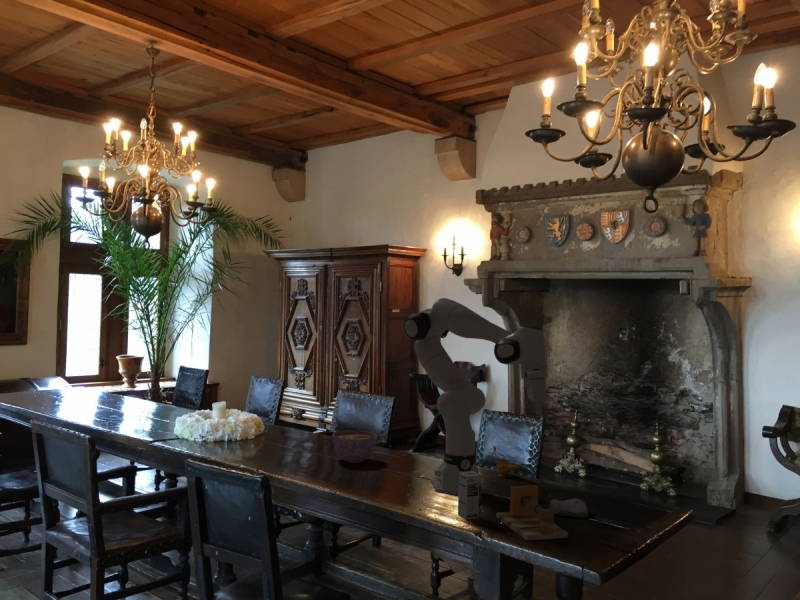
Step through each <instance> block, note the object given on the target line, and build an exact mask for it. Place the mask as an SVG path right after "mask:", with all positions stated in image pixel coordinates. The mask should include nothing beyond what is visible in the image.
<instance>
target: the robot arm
mask: <svg viewBox="0 0 800 600" xmlns="http://www.w3.org/2000/svg"><path fill="white" fill-rule="evenodd" d="M403 330H404V332H405V335H406V336H407V337H408V338H409V340H413V341H415V342H414V345H413V349H414V352H415V354H416V357H417V359H418V361H419V363H420V365H421V367H422V368H423V370H424V371H425V373H426V375H427V377H428V378H429V379H430V381H431V382H432V384H433V385H434V386H435V387H436V388H439V389H440V390H441V391H442V392H443V393H441V394H440V395H439V396H438V398H437V401H436V408H437V410H438V412H439V414H440V415H441V417H442V419H443V422H444V427H445V451H444V454H443V461H442V463H441V464H440V465H439V466H438V467H437V469H436V470H434V473H433V474H434V477H433V478H431V479H430V483H431V484H432V486H433V487H432V488H433V490H434V491H435V492H439V493H445V494H449V495H458V485H459V472H472V471H474V472H477V473H479V474H480V472H479V471H480V470H479V467H478V466H477V465H476V464H477V463H476V462H477V457H476V432H475V430H474V429H473V428H472V424H471V417H470V416H471V415H475V414H477V413H478V412H480V411H481V410H482V409H483V408H484V406H485V404H486V395H485V393H484V391H482V389H481V388H479V387H477V386H476V385H474V384H473V383H472V382H471V381H470V380H469V379H468V378H467V377H466V376H465V375H464V374H463V373H462V372H461V370H460V369H458V367H457V365H456V364H455V363H454V361H453V360H452V358H451V356H450V355H449V354H448V352H447V351H446V349H445V348H444V346H443V345H442V341H441V340H442V339H445V338H446V337H447V336H448V334H449V332H450V333H452V334H453V335H455V336H458V337H461V338H464V339H475V340H484V341H489V342H491V343H493V344H494V347H493V352H494V353H493V354H494V357H495V359H496V360H497V361H498V362H499V363H500V364H501V365H502V364H503V365H510V366H511V365H519V367H520V377H521V379H524V380H525V381H524V382H525V384H526V386H527V387H526V389H527V397H528V400H530V401H531V402H530V403H531V406H532V407H531V408H532V413H533V414H535V415H536V416H542V415H543V402H545V401H546V396H547V393H546V392H547V388H546V387H547V385H546V384H547V382H546V381H547V380H546V379H547V378H549V373H548V362H547V359H546V352H547V350H546V341H545V340H546V339H545V335H544V332H543V330H542V328H541V327H539V326H536V325H535V326H534V325H520V326H519V327H518V328H517V329H516V330H515V331H514V332H511V331H510V330H509V331H508V330H507V329H505V328H502V327H501V326H499V325H497V324H495V323H493V322H491V321H489V320H488V319H487V318H485V317H483V316H481V315H480V314H478V313H477V312H475V311H474V310H472V309H470V308H469V307H467V306H466V305H463V304H462V303H460V302H458V301H455V300H453V299H451V298H450V299H449V298H448V297H447V298H446V297H442V298H439V299H437V300H436V301H435V302H434V303H433V305H432V307H431V308H427V309H424V310H421V311H418V312H414V313H412V314H410V315H408V316H407V317H406V318H405V320H404V323H403ZM481 491H483V486H482V485H481Z"/></svg>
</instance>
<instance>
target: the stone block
mask: <svg viewBox="0 0 800 600" xmlns="http://www.w3.org/2000/svg"><path fill="white" fill-rule="evenodd" d="M549 509H552V510H554V516H555V515H556V516H562V517H569V518H587V516H588V517H589V511H588V507H587V505H586V503H585V502H584V501H583V500H581V499H579V498H572V499H571V498H569V499H566V500H558V499H556V498H553V499H552V500H550V502H549Z"/></svg>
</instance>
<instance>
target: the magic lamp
mask: <svg viewBox="0 0 800 600" xmlns="http://www.w3.org/2000/svg"><path fill="white" fill-rule="evenodd" d="M496 450H497V447H495V446H493V452H492V453H491V458H492V459H493V460H494V462H495V463H496V468H497V469H498V470H499V471H500V472H501V473H499V474H498V476H499V477H503V478H510V477H512V475H511V474H509V472H513V471H516V470H518V469H520V468H521V467H522V466H526V463H522V464H521V463H520V464H517V465H513V464H512V463H508V462H507V460H506V459H505V457H502V458H501V459H498V457H497V453H496ZM494 455H495V458H494Z"/></svg>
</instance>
